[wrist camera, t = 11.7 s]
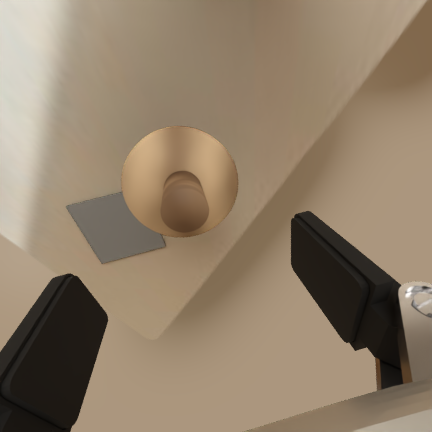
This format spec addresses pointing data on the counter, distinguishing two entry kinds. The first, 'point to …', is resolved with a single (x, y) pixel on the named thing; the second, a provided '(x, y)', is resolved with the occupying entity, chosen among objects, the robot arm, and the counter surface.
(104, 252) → the mat
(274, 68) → the counter surface
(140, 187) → the lid
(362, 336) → the robot arm
